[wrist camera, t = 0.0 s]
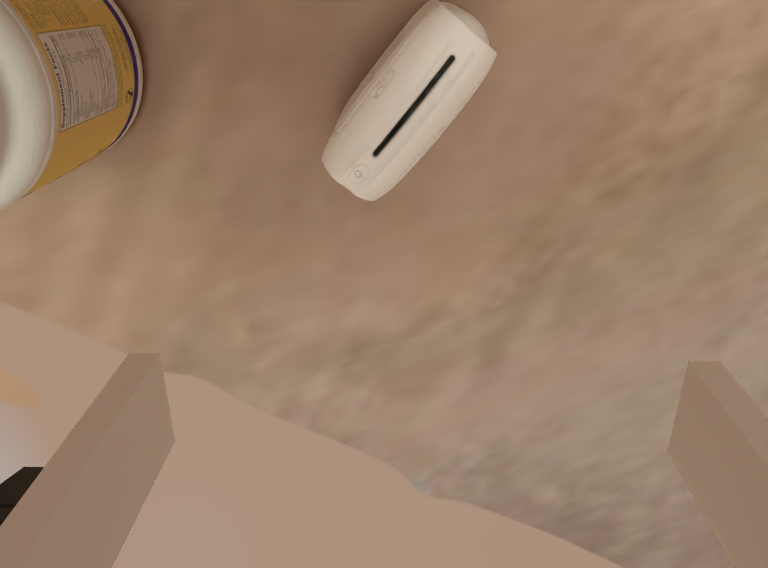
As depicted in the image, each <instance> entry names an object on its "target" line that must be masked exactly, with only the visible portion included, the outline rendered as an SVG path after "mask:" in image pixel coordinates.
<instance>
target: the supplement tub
mask: <svg viewBox="0 0 768 568" xmlns="http://www.w3.org/2000/svg"><path fill="white" fill-rule="evenodd" d="M142 87H143V73H142V63H141V58H140V53H139V49H138V46H137V43H136V40H135V37H134V35H133V32H132V30H131V28H130V26H129V24H128V22H127V20H126V19H125V17H124V15H123V13H122V12H121V10H120V9H119V8H118V6H117V5H116V4H115V2H114V1H113V0H0V211H1V210H3V209H5V208H7V207H9V206H10V205H12V204H13V203H15V202H16V201H18V200H19V199H21V198H23V197H24V196H26V195H28V194H30V193H32V192H34V191H35V190H37V189H39V188H41V187H42V186H44V185H46V184H48V183H50V182H51V181H53V180H55V179H57V178H59V177H60V176H62V175H64V174H66V173H68V172H69V171H71V170H73V169H75V168H76V167H78V166H80V165H82V164H83V163H85V162H87V161H89V160H91V159H93V158H95V157H97V156H99V155H101V154H103V153H104V152H106V151H107V150H109V149H110V148H112V147H113V146H114V145H115V144H116V143H117V142H118V141H119V140H120V139H121V138H122V137H123V136H124V134H125V133H126V132H127V130H128V129H129V127H130V126H131V124H132V122H133V121H134V119H135V117H136V114H137V112H138V109H139V105H140V101H141V96H142Z"/></svg>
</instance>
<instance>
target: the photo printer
mask: <svg viewBox="0 0 768 568" xmlns="http://www.w3.org/2000/svg"><path fill="white" fill-rule="evenodd" d="M496 56H497V52H496V51H495V50H493V49H492V48H491V47H490V44H489V39H488V36H487V33H486V31H485V29H484V27H483V26H482V24H481V23H480V22H479V21H478V20H477V19H476V18H475V17H474V16H472V15H471V14H469V13H468V12H466V11H464V10H463V9H461V8H460V7H458V6H457V5H455V4H452V3H449V2H443V1H438V0H429V1H428V2H427V3H425V4H424V5H423V6H422V7H421V8H420V9H419V10H418V11H417V12H416V13H415V15H414V16H413V17H412V18H411V19H410V20H409V21H408V23H407V24H406V25H405V27H404V28H403V29H402V30H401V31H400V33H399V34H398V35H397V36H396V38H395V39H394V40H393V42H392V43H391V44H390V45H389V47H388V48H387V49H386V50H385V52H384V53H383V54H382V56H381V57H380V58H379V60H378V61H377V62H376V64H375V65H374V66H373V68H372V69H371V70H370V72H369V73H368V74H367V76H366V77H365V78H364V80H363V81H362V82H361V84H360V85H359V87H358V88H357V89H356V91H355V92H354V94H353V95H352V96H351V98H350V99H349V101H348V102H347V104H346V106H345V107H344V109H343V111H342V113H341V115H340V117H339V119H338V122H337V124H336V126H335V128H334V130H333V132H332V134H331V136H330V138H329V140H328V142H327V144H326V146H325V149H324V151H323V154H322V162H323V165H324V167H325V168H326V170H327V171H328V172H329V174H330V175H331V176H332V177H333V179H334V180H335V181H337V182H338V183H340V184H341V185H343V186H344V187H345V188H347V189H348V190H350V191H351V192H352V193H353V194H354V195H355V196H357V197H359V198H361V199H364V200H368V201H375V200H377V199H378V198H380V197H381V196H383V195H384V194H386V193H387V192H388V191H390V190H391V189H392V188H393V187H394V186H395V185H396V184H397V183H398V182H399V181H400V180H401V179H402V178H403V177H404V176H405V175H406V174H407V173H408V172H409V171H410V170H411V169H412V168H413V167H414V166H415V165H416V164H417V162H418V161H419V160H420V159H421V158H422V157H423V156H424V155H425V154H426V152H427V151H428V150H429V149H430V148H431V147H432V145H433V144H434V143H435V142H436V141H437V140H438V138H439V137H440V136H441V135H442V134H443V132H444V131H445V130H446V129H447V128H448V126H449V125H450V124H451V123H452V122H453V120H454V119H455V118H456V117H457V115H458V114H459V113H460V112H461V110H462V109H463V108H464V106H465V105H466V104H467V102H468V101H469V100H470V99H471V97H472V96H473V94H474V93H475V92H476V90H477V89H478V88H479V86H480V85H481V83H482V82H483V80H484V79H485V77H486V76H487V74H488V72H489V71H490V69H491V67H492V65H493V63H494V61H495V59H496Z"/></svg>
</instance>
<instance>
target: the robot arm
mask: <svg viewBox="0 0 768 568" xmlns="http://www.w3.org/2000/svg"><path fill="white" fill-rule="evenodd" d="M174 442H175V438H174V433H173V427H172V421H171V416H170V410H169V404H168V398H167V392H166V386H165V381H164V375H163V369H162V363H161V358H160V353H129V354H128V355H127V357H126V358H125V360H124V361H123V362H122V364H121V365H120V366H119V368H118V369H117V370H116V372H115V373H114V374H113V376H112V377H111V378H110V380H109V381H108V382H107V384H106V385H105V386H104V388H103V389H102V390H101V392H100V393H99V395H98V396H97V397H96V398H95V400H94V401H93V403H92V404H91V405H90V406H89V408H88V409H87V411H86V412H85V413H84V415H83V416H82V417H81V419H80V420H79V421H78V423H77V424H76V425H75V427H74V428H73V429H72V431H71V432H70V433H69V435H68V436H67V437H66V439H65V440H64V442H63V443H62V444H61V445H60V447H59V448H58V449H57V451H56V452H55V453H54V455H53V456H52V458H51V459H50V460H49V462H48V463H47V464H46V466H45V467H23V468H22V469H21V470H19V471H18V472H16V473H15V474H14V475H12V476H11V477H9V478H8V479H7V480H5V481H4V482H3V483H1V484H0V568H111V567H112V566H113V564H114V561H115V560H116V558H117V556H118V554H119V552H120V550H121V548H122V546H123V544H124V542H125V540H126V538H127V536H128V534H129V531H130V530H131V528H132V526H133V524H134V522H135V520H136V518H137V516H138V514H139V512H140V510H141V508H142V506H143V504H144V502H145V500H146V498H147V496H148V494H149V492H150V490H151V488H152V486H153V484H154V482H155V480H156V478H157V476H158V474H159V472H160V470H161V468H162V466H163V464H164V462H165V460H166V458H167V456H168V454H169V452H170V450H171V448H172V446H173V444H174ZM668 452H669V454H670V455H671V457H672V459H673V461H674V463H675V464H676V466H677V468H678V470H679V471H680V473H681V475H682V477H683V478H684V480H685V482H686V484H687V486H688V487H689V489H690V491H691V493H692V494H693V496H694V498H695V500H696V501H697V503H698V505H699V507H700V509H701V510H702V512H703V514H704V516H705V517H706V519H707V521H708V523H709V525H710V526H711V528H712V530H713V532H714V533H715V535H716V537H717V539H718V540H719V542H720V544H721V546H722V548H723V549H724V551H725V553H726V555H727V556H728V558H729V560H730V562H731V563H732V565H733V567H734V568H768V418H767V417H766V416H765V414H764V413H763V412H762V411H761V410H760V408H759V407H758V406H757V405H756V404H755V402H754V401H753V400H752V399H751V398H750V397H749V395H748V394H747V393H746V392H745V391H744V389H743V388H742V387H741V386H740V385H739V383H738V382H737V381H736V380H735V379H734V377H733V376H732V375H731V374H730V373H729V371H728V370H727V369H726V368H725V367H724V365H723V364H722V363H721V362H718V361H689V362H688V366H687V370H686V374H685V379H684V383H683V387H682V391H681V396H680V400H679V404H678V408H677V412H676V417H675V421H674V425H673V429H672V434H671V438H670V442H669V446H668Z"/></svg>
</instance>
